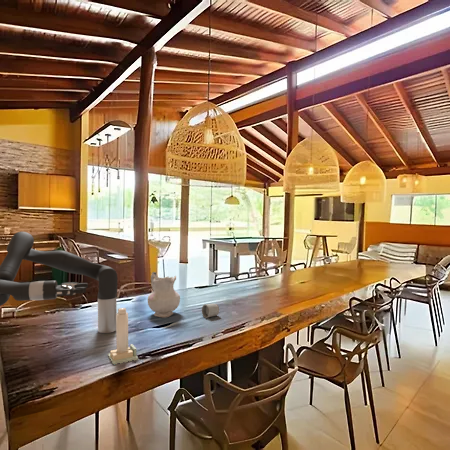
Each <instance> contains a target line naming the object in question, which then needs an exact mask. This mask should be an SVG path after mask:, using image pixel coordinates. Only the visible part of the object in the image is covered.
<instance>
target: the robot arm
mask: <svg viewBox="0 0 450 450" xmlns="http://www.w3.org/2000/svg"><path fill="white" fill-rule="evenodd" d="M34 242H35V239H34V236H33V235H32V234H31V233H29V232H27V231H18V232H15V233H14V234H13V235H12V237H11V239H10V240H9V243H8V244H7V246H6V255H5V257H4V259H3V260H2V262H1V264H0V307H1V306H4V305H5V304H6V303H7V302H8V301H9V300H10V297H11V296H12V298H13V299H14V300H15V301H17V302H19V301H21V302H22V301H45V300H46V301H48V300H56V299H57V298H58V297H68V296H69V297H72V296H73V295H76V294H85V293H86V292H87V289H88V288H89V286H88V285H89V284H88V282H82V283H81V282H80V283H79V282H77V281H74V282H73V281H72V282H71V281H70V282H62V283H61V284H58V281H57V280H38V281H31V282H30V281H26V282H17V281H14V280H15V278H16V276H17V274H18V272H19V269H20V266H21V264H22V262H23V260H24V261H29V262H33V263H37V264H41V265H45V266H47V267H50V268H54V269H56V270H58V271H59V270H60V271H62V272H64V273H65V272H66V273H69V274H75V275H80V276H81V275H82V276H86V277H89V278H91V279H94V280H96V281H98V292H97V332H98V333H99V334H100V333H101V334H110V333H114V332H116V314H117V313H118V311H117V310H118V308H117V306H118V305H117V293H118V273H117V270H116V269H114V268H113V267H111V266H108V265H105V264H99V263H95V262H92V261H89V260H87V259H86V258H83V257H81V256H80V255H77V254H74V253H73V252H69V251H66V250H61V249H60V250H46V251H43V250H38V249H35V248H33V246H34Z"/></svg>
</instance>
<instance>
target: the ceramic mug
mask: <svg viewBox="0 0 450 450" xmlns="http://www.w3.org/2000/svg"><path fill="white" fill-rule="evenodd" d="M219 313H220V308H219V305H218V304H216V303H206V304H205V303H204V304H203V305H202V306H201V314H202V316H203V317H204V318H208V319H209V318H212V317H215V316H218V315H219Z"/></svg>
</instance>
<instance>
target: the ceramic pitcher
mask: <svg viewBox="0 0 450 450" xmlns="http://www.w3.org/2000/svg"><path fill="white" fill-rule="evenodd" d="M176 280H177V275H175V276H174V277H173V276H165V277H158V274H157V271H153V272H151V275H150V286H151V289H152V292H150V294H149V295H148V297H147V305H148V307H149V309H150V310H151V311H152V312H154V313H153V316H155V317H159V318H163V319H164V318H169V317H171V316H172V315H174V311H175V310H177V309H178V307H179V305H180V304H181V303H180V302H181V295H180V294H179V292H177V291H176V290H175V289H174V285H175V282H176Z"/></svg>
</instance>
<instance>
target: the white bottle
mask: <svg viewBox="0 0 450 450" xmlns="http://www.w3.org/2000/svg"><path fill="white" fill-rule="evenodd" d="M117 310H118V311H117V314H116V331H115V332H116V333H115V335H116V349H117V353H126V352H128V347H129V313H128V312H127V308H126V307H120V308H117Z"/></svg>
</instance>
